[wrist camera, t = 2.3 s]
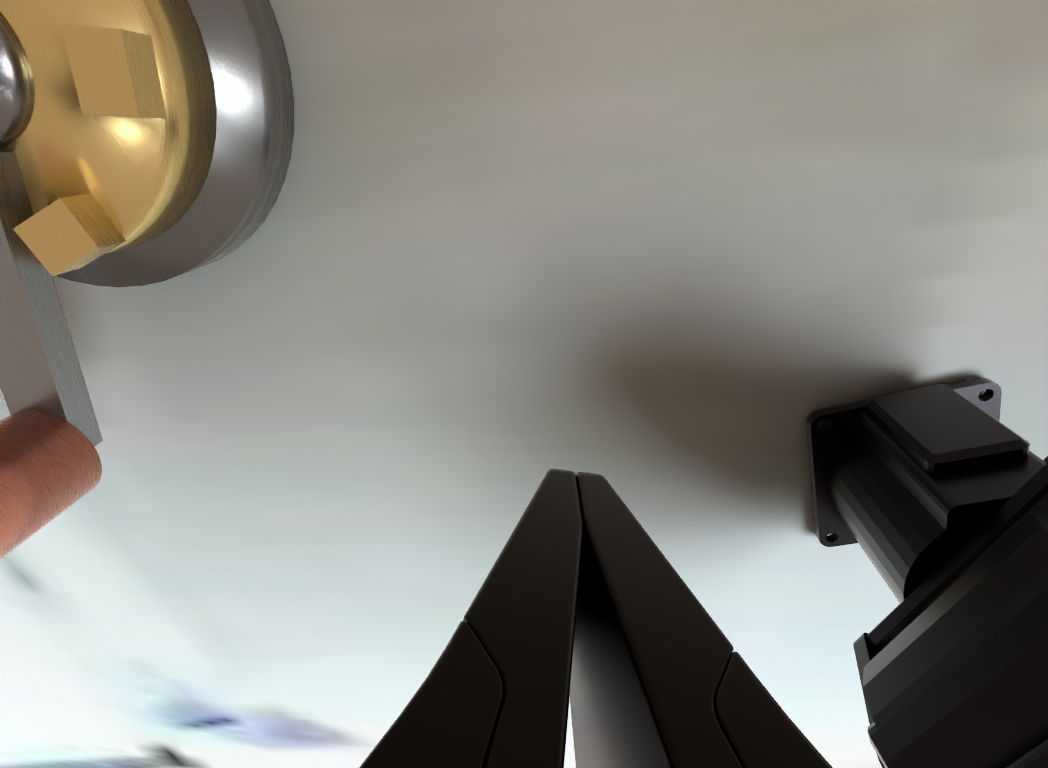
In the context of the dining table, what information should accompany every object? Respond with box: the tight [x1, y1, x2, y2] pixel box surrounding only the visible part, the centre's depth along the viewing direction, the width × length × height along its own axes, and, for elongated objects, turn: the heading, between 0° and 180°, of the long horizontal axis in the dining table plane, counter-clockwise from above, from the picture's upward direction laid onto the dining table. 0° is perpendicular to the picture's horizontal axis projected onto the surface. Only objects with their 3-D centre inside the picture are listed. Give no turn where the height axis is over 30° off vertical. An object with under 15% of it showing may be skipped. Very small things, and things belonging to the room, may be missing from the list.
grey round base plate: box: [55, 0, 294, 287], centre depth 17 cm, size 13×13×2 cm
